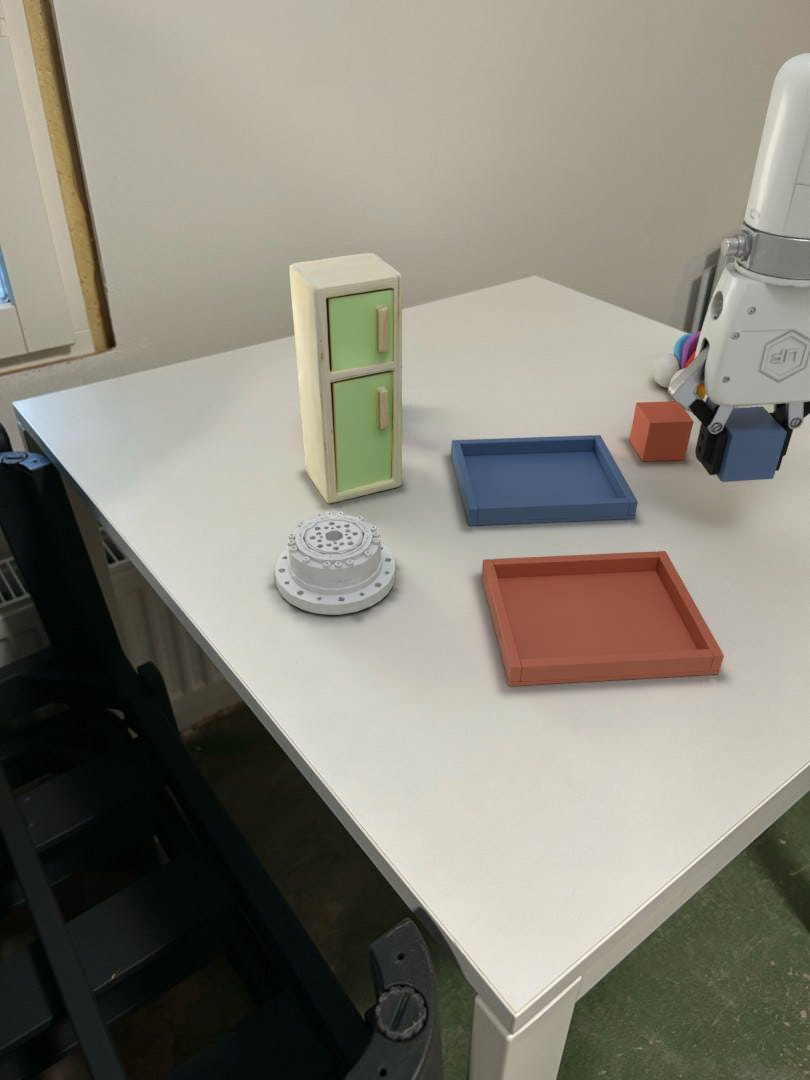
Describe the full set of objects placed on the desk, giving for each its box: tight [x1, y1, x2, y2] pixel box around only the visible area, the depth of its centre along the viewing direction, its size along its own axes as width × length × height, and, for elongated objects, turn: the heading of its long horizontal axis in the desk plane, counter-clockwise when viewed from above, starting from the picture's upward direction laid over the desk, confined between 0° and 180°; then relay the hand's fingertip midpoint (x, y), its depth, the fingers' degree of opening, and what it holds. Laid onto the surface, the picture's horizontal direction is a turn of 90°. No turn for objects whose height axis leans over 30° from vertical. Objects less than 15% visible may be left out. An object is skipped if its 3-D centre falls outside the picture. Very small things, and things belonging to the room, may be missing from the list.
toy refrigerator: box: [288, 252, 403, 504], centre depth 75 cm, size 8×7×21 cm
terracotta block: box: [628, 400, 695, 462], centre depth 86 cm, size 4×4×4 cm
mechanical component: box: [274, 511, 397, 616], centre depth 68 cm, size 10×4×10 cm
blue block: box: [716, 406, 787, 483], centre depth 70 cm, size 4×4×4 cm
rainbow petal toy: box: [652, 330, 706, 399], centre depth 96 cm, size 8×10×7 cm
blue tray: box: [450, 434, 639, 527], centre depth 80 cm, size 16×13×2 cm
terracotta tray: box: [480, 550, 725, 687], centre depth 64 cm, size 16×13×2 cm
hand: (737, 462), depth 71 cm, fingers closed on blue block, 4 cm apart
